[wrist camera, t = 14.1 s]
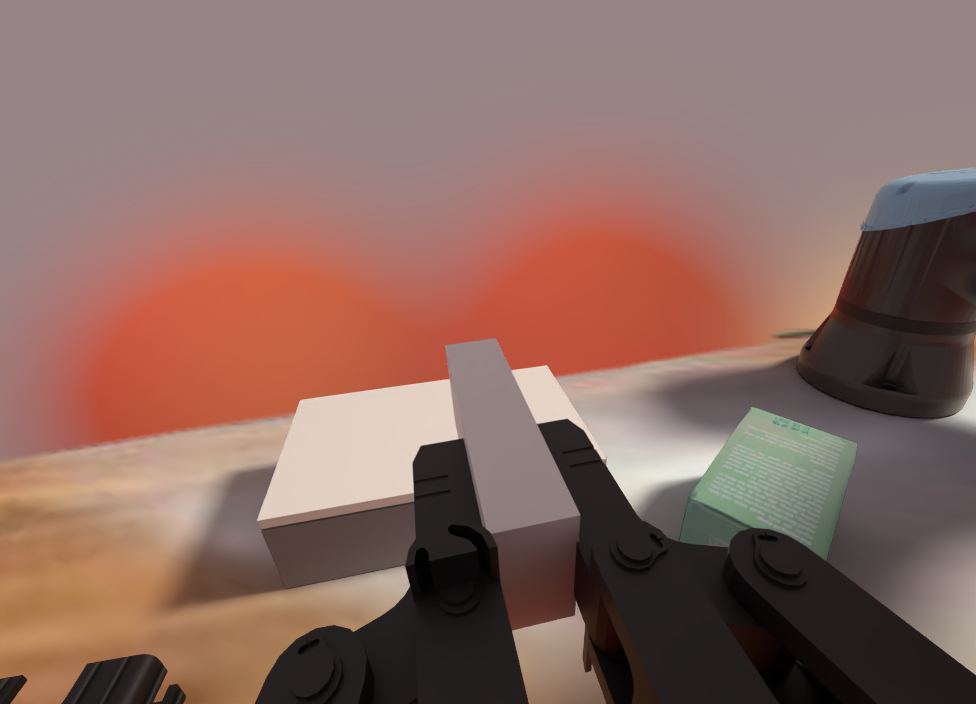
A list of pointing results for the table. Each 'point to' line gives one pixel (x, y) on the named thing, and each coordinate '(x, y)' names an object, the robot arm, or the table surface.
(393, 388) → the cover
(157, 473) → the table surface
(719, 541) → the box
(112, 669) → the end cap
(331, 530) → the grey tray
